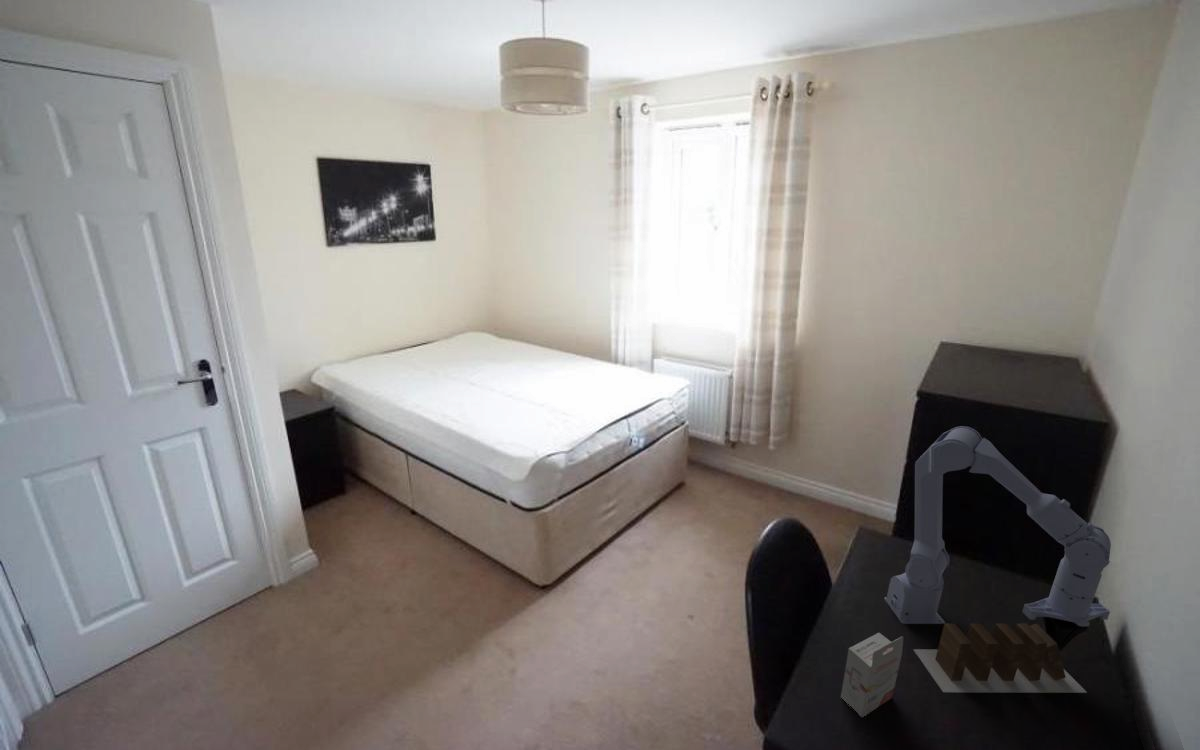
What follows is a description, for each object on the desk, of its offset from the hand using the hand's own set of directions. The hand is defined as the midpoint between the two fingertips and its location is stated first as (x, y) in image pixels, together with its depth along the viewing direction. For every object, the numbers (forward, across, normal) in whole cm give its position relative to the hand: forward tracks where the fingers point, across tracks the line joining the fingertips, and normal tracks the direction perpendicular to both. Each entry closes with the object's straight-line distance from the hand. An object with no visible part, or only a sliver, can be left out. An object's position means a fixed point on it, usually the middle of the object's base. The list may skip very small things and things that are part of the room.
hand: (1053, 646), depth 102 cm
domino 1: (+6, -19, 0) cm, 20 cm away
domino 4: (+6, -4, 0) cm, 7 cm away
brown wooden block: (+6, +1, 0) cm, 6 cm away
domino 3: (+6, -9, 0) cm, 11 cm away
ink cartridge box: (+7, -38, -6) cm, 39 cm away
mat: (+6, -10, 0) cm, 12 cm away
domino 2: (+6, -14, 0) cm, 15 cm away
